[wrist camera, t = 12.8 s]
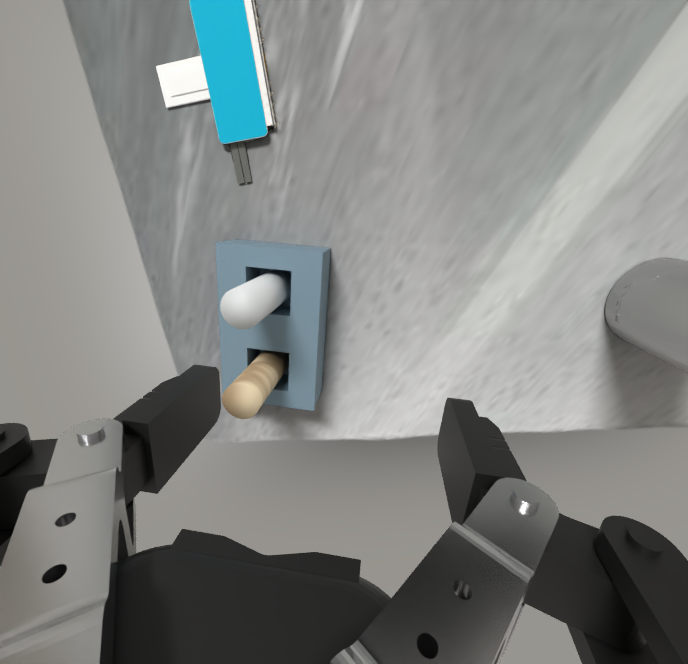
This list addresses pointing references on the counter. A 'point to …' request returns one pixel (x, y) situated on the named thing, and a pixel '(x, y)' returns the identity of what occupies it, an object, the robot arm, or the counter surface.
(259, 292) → the bore block
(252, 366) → the beech pin
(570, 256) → the counter surface
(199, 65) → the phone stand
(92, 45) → the counter surface
